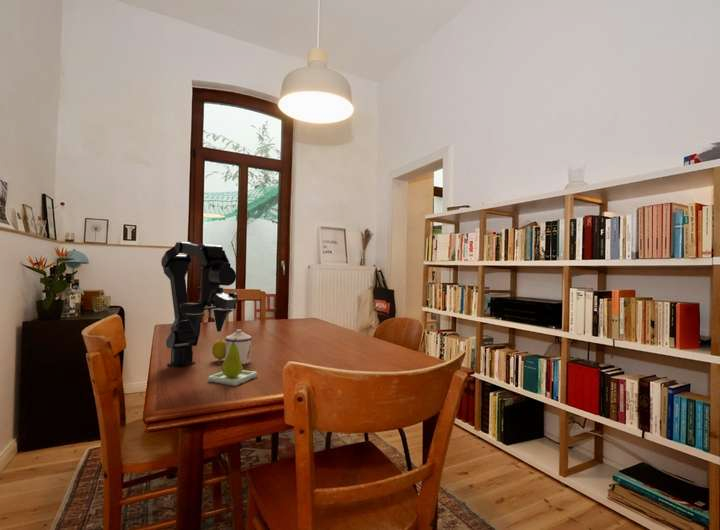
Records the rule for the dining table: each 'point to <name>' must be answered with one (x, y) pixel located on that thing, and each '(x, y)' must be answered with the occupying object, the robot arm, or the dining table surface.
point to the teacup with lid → (240, 345)
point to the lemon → (219, 349)
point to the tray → (234, 381)
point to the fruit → (232, 363)
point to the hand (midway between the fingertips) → (208, 333)
